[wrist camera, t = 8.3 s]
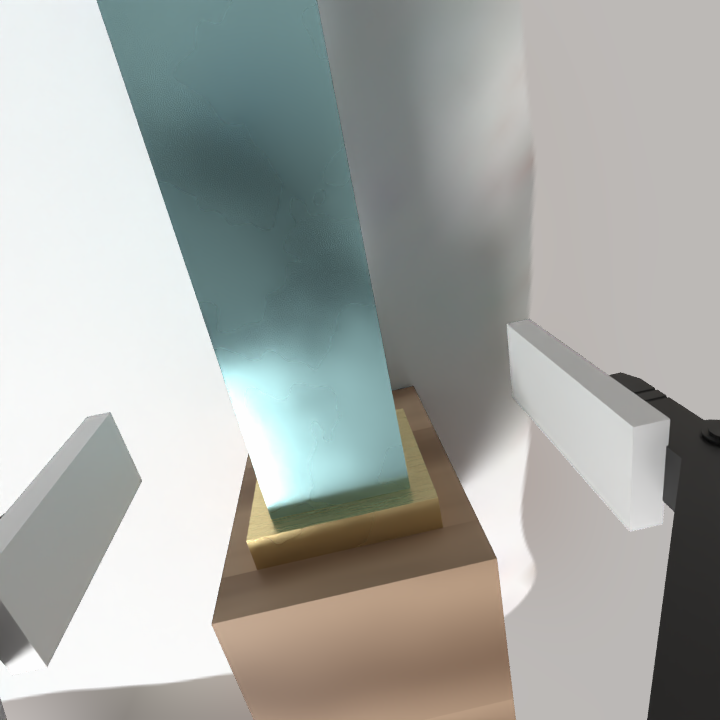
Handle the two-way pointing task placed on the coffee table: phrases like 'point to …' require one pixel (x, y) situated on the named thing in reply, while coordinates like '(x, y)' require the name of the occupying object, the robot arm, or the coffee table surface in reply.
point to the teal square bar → (276, 264)
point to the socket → (372, 617)
